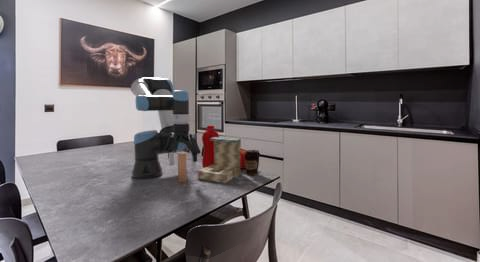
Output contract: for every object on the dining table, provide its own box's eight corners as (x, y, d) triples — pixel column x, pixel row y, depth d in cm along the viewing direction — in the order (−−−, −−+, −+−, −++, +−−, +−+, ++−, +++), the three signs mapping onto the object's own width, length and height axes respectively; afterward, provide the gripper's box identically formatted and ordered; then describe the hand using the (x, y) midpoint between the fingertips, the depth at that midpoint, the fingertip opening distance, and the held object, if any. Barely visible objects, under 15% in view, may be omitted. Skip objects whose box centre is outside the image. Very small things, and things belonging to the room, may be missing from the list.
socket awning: (197, 178, 120) (197, 141, 118) (215, 170, 135) (215, 137, 133) (224, 183, 113) (224, 143, 111) (240, 173, 128) (240, 139, 126)
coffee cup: (258, 177, 122) (259, 152, 120) (243, 176, 124) (243, 152, 122) (260, 172, 130) (260, 149, 129) (245, 171, 132) (246, 148, 131)
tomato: (224, 169, 136) (224, 151, 135) (233, 164, 149) (233, 147, 148) (246, 171, 132) (247, 153, 131) (253, 166, 144) (253, 149, 143)
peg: (176, 181, 114) (175, 153, 113) (182, 179, 118) (181, 152, 116) (183, 183, 113) (182, 154, 111) (188, 180, 116) (187, 152, 115)
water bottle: (208, 163, 151) (208, 124, 148) (221, 165, 144) (221, 125, 141) (198, 166, 143) (197, 125, 140) (211, 169, 137) (210, 126, 134)
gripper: (156, 123, 114) (157, 165, 116) (197, 124, 103) (198, 171, 105) (167, 122, 121) (168, 162, 123) (207, 123, 110) (208, 167, 112)
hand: (182, 166), depth 114 cm, fingers open, 13 cm apart
